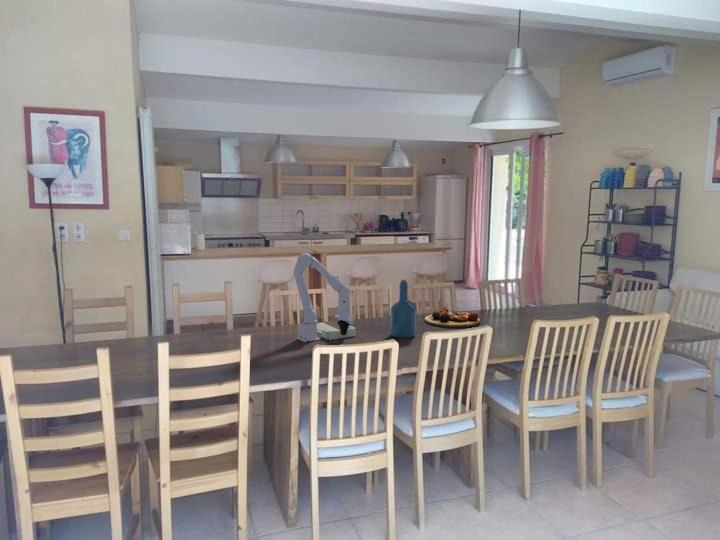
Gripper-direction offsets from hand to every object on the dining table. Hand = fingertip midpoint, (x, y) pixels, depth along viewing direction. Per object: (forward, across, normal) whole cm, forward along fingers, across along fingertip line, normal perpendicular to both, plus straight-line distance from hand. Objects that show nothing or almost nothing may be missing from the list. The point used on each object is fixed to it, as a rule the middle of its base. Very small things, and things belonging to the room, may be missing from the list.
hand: (343, 334), depth 275 cm
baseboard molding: (+3, +19, 0) cm, 19 cm away
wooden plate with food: (+3, -4, -73) cm, 73 cm away
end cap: (+2, +5, 0) cm, 5 cm away
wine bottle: (+2, -12, -29) cm, 32 cm away
